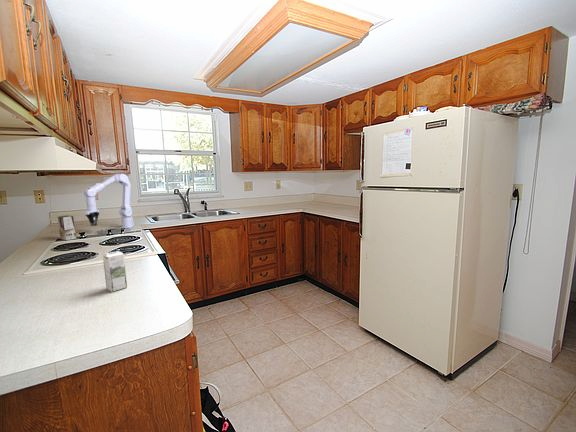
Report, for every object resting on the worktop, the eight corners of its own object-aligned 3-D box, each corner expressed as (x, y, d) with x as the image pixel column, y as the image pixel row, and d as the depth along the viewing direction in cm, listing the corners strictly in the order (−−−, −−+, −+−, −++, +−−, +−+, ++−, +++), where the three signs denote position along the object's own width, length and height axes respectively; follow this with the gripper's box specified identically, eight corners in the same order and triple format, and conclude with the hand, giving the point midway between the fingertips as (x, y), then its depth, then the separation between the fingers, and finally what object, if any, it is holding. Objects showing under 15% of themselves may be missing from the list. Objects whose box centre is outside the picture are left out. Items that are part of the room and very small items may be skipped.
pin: (92, 224, 222) (91, 215, 220) (98, 224, 222) (97, 215, 221) (89, 225, 218) (88, 216, 216) (95, 225, 218) (94, 216, 217)
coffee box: (76, 238, 203) (73, 215, 200) (66, 240, 197) (62, 217, 195) (70, 237, 207) (67, 214, 205) (60, 239, 202) (56, 216, 199)
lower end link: (109, 231, 226) (109, 229, 226) (130, 230, 228) (130, 228, 228) (102, 233, 216) (102, 231, 216) (124, 233, 218) (124, 231, 218)
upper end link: (103, 231, 226) (103, 228, 226) (122, 230, 227) (122, 227, 227) (96, 234, 216) (96, 230, 216) (116, 233, 217) (116, 230, 217)
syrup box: (121, 284, 119) (117, 250, 117) (127, 287, 115) (124, 252, 113) (106, 288, 115) (102, 253, 112) (112, 292, 111) (107, 256, 109)
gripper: (91, 203, 224) (93, 221, 226) (79, 206, 210) (82, 224, 212) (100, 203, 225) (103, 220, 227) (90, 206, 210) (92, 224, 213)
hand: (93, 222), depth 219 cm, fingers closed on pin, 4 cm apart
